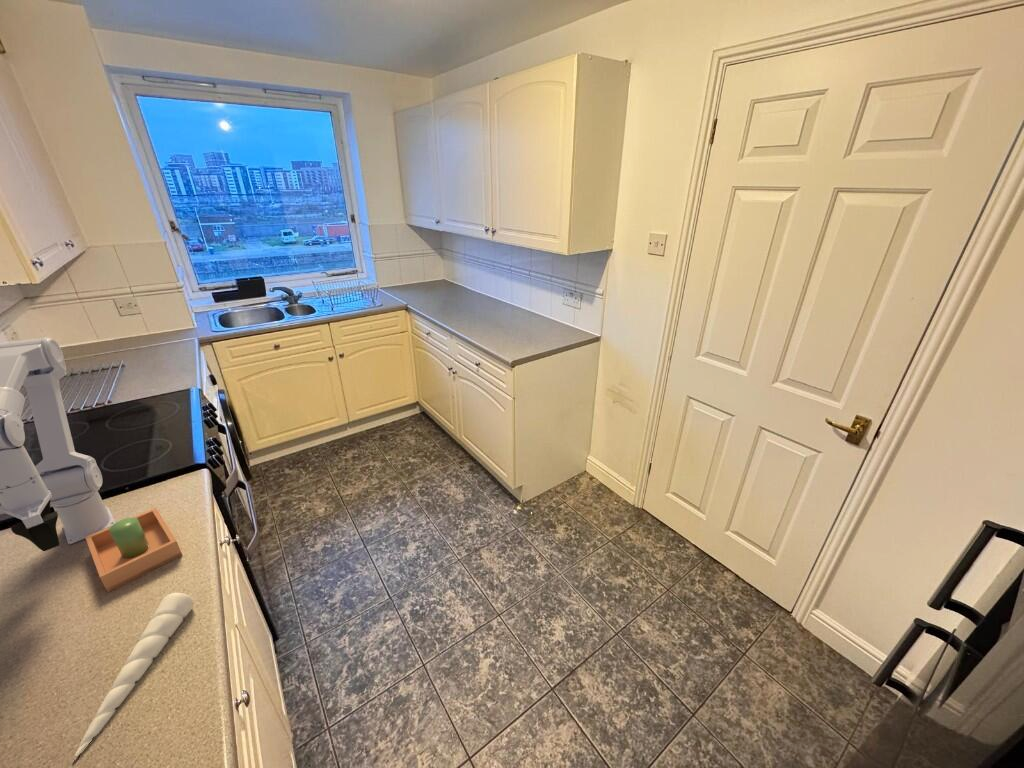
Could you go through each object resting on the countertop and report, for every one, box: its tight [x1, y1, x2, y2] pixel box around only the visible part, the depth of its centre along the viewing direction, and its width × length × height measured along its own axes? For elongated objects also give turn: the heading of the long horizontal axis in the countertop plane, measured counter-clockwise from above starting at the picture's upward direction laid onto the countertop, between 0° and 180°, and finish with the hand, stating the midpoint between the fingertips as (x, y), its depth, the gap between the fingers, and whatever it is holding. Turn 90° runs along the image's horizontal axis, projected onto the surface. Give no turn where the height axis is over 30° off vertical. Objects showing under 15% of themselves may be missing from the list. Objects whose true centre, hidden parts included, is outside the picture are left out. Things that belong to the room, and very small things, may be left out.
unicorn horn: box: [74, 592, 194, 756], centre depth 66 cm, size 5×24×5 cm, turn 2°
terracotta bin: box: [85, 507, 183, 593], centre depth 88 cm, size 16×12×4 cm
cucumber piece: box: [109, 516, 149, 559], centre depth 87 cm, size 4×4×7 cm
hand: (48, 537), depth 80 cm, fingers open, 7 cm apart
